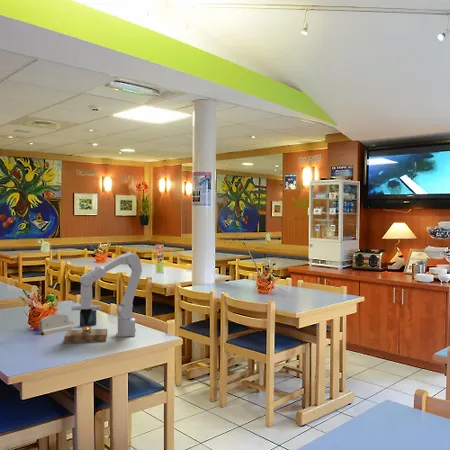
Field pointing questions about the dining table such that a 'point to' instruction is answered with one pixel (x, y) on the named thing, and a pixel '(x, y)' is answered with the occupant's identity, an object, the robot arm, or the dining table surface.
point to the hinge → (54, 324)
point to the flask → (91, 319)
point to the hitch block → (85, 336)
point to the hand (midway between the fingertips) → (86, 323)
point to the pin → (86, 330)
